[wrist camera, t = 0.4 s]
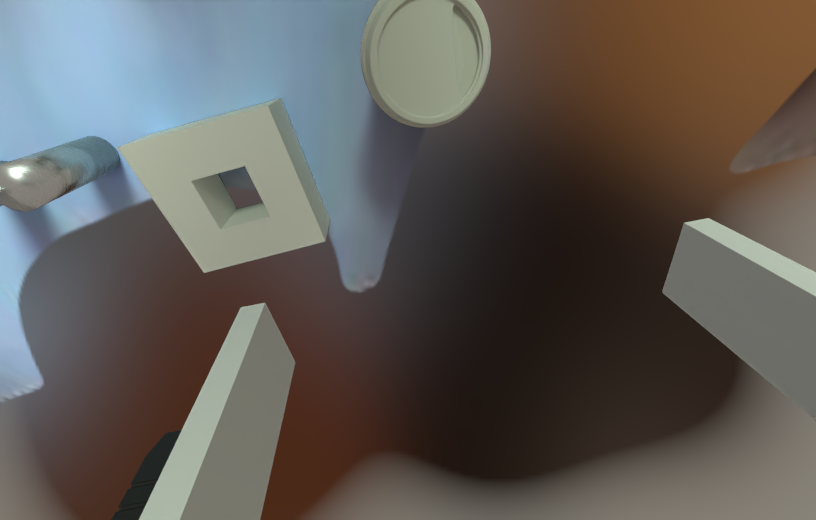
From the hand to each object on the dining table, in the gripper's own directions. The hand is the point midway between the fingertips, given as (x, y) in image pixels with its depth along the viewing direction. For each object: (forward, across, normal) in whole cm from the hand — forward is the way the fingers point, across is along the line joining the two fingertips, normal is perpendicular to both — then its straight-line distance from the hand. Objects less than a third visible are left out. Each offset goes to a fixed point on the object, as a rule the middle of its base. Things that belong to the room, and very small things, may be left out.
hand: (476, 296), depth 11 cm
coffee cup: (+28, +2, +6) cm, 28 cm away
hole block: (+27, -17, -2) cm, 32 cm away
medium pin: (+28, -29, +3) cm, 40 cm away
